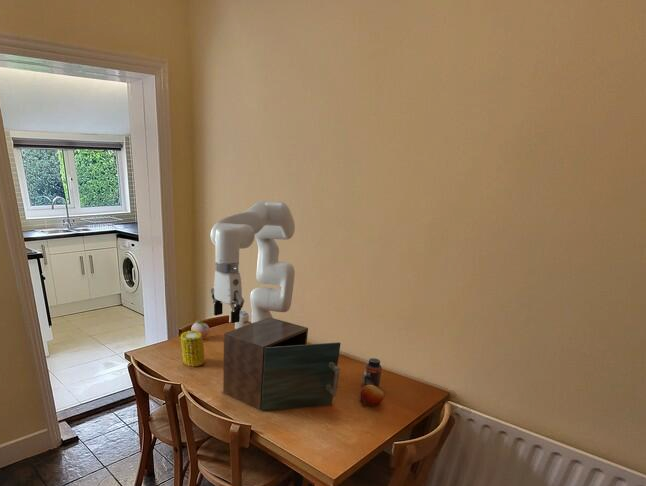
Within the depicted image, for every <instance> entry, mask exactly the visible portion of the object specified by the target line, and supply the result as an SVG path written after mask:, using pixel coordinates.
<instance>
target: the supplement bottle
mask: <svg viewBox="0 0 646 486" xmlns="http://www.w3.org/2000/svg"><path fill="white" fill-rule="evenodd" d="M380 364H381V360H380V359H378V358H376V357H375V358H374V357H373V358H369V359H368V363H366V364H365V366H364V373H363V379H362V388H363V387H364V386H365V385H374V386H376V387H378V388H379V386H380V381H381V375H382V370H383V367H382V366H381V365H380Z"/></svg>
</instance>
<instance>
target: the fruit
mask: <svg viewBox="0 0 646 486" xmlns="http://www.w3.org/2000/svg"><path fill="white" fill-rule="evenodd" d="M359 396H360V398H359V399H360V401H362V403H363V407H365V405H367V406H371V407H373V406H375V407H376V406H379V405H380V404H381V403H382V402H383V401H384V398H385V393H384V391H383V390H382V389H381V388H379V387H376V386H374V385H365V386H364V387H363V386H362V388H361V390H360V393H359Z"/></svg>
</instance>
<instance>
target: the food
mask: <svg viewBox="0 0 646 486" xmlns="http://www.w3.org/2000/svg"><path fill="white" fill-rule="evenodd" d="M203 339H204V338H203V337H202V334H201V333H199V332H197V331H193V330H191V329H190V330H187V331H184V332H182V333H181V334H180V346H181V352H182V359H183V360H182V361H183V364H185V365H186V366H189V367H199V366H202V365H203V364H204V363H205V359H206V358H205V348H204V347H205V346H204V341H203Z"/></svg>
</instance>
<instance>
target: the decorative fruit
mask: <svg viewBox="0 0 646 486" xmlns="http://www.w3.org/2000/svg"><path fill="white" fill-rule="evenodd" d="M191 330H193V331H197V332H199V333H201V334H202V337H203V339H205V338H207V336H208V335H209V334H210V330H211V329H210V326H209V325H208V324H207V323H205V322H202V321H201V319H200V320H195V321H194V323H193V324H192V326H191V329H190V331H191Z"/></svg>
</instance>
